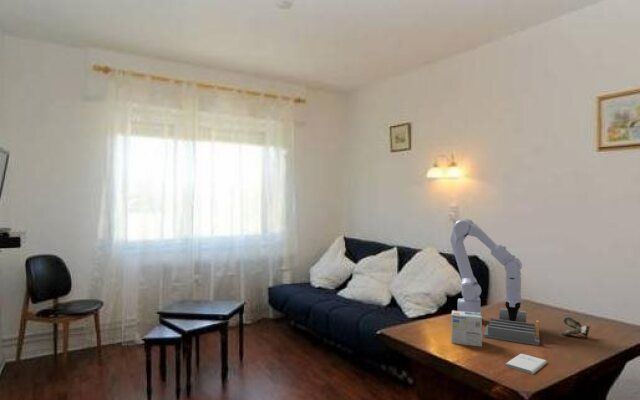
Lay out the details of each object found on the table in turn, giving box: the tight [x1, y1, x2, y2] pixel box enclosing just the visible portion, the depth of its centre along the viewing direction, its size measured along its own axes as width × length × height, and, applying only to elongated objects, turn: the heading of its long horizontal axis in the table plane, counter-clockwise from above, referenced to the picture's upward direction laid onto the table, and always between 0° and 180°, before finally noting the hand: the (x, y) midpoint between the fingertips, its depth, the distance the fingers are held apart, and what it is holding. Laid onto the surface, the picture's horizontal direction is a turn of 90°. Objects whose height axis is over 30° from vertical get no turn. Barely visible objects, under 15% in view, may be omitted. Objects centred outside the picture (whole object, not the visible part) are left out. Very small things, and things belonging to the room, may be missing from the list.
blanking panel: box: [498, 307, 527, 323], centre depth 169 cm, size 10×2×6 cm, turn 62°
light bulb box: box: [450, 309, 483, 347], centre depth 151 cm, size 11×7×11 cm, turn 71°
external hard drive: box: [504, 353, 547, 375], centre depth 131 cm, size 2×8×12 cm
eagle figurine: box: [560, 316, 591, 339], centre depth 158 cm, size 8×7×9 cm
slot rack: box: [482, 317, 540, 346], centre depth 158 cm, size 19×14×7 cm
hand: (512, 320), depth 169 cm, fingers closed on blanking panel, 1 cm apart
